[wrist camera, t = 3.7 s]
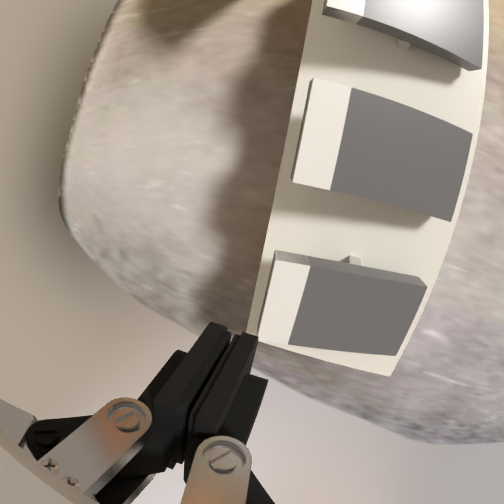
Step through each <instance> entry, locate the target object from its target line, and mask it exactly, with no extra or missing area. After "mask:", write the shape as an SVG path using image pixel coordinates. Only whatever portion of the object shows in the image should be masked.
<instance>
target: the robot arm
mask: <svg viewBox="0 0 504 504" xmlns="http://www.w3.org/2000/svg"><path fill="white" fill-rule="evenodd" d="M258 338H259V337H258V336H255V335H252V334H249V333H245V332H242V334H241V335H237V334H235V336H234V337H233V339H232V341H231V343H230V339H231V332H228V331H227V327H226V326H223V325H220V324H217V323H214V322H210V323H209V324H208V326H207V327H206V329H205V330H204V331H203V333H202V334H201V336H200V337H199V338H198V340H197V341H196V342H195V344H194V345H193V347H192V348H191V349H190V351H189V352H188V353H186V352H183V351H181V350H177V351H175V352H174V354H173V355H172V356H171V357H170V359H169V360H168V361H167V363H166V364H165V365H164V366H163V368H162V369H161V371H160V372H159V373H158V374H157V375H156V377H155V378H154V379H153V380H152V382H151V383H150V384H149V385H148V387H147V388H146V389H145V391H144V392H143V393H142V394H141V396H140V397H139V398H138V400H136V399H133V398H118V399H114V400H112V401H110V402H109V403H107V404H106V405H105V406H104V407H103V408H102V409H100V410H99V411H98V412H97V413H95V414H94V415H90V416H81V417H71V418H60V419H47V420H41V421H39V420H37V419H36V417H35V416H34V415H32V414H29V413H27V412H25V411H23V410H21V409H19V408H17V407H15V406H13V405H11V404H9V403H7V402H5V401H3V400H1V399H0V504H131V503H132V502H133V500H134V499H135V498H136V497H137V496H138V495H139V494H140V492H141V491H143V489H144V488H145V487H146V486H147V485H148V484H149V483H150V481H151V480H152V479H153V478H154V476H155V475H156V473H160V472H164V471H165V470H166V468H167V467H168V468H171V469H173V468H174V466H175V464H176V463H180V464H182V463H183V462H184V481H185V483H186V487H185V491H184V494H183V497H182V501H181V504H275V503H274V502H273V500H272V499H271V498H270V496H269V495H268V494H267V492H266V491H265V489H264V488H263V487H262V485H261V484H260V482H259V481H258V479H257V478H256V477H255V475H254V474H253V472H252V471H251V464H252V458H251V454H250V452H249V449H248V448H247V447H246V443H247V441H248V438H249V435H250V433H251V430H252V427H253V425H254V422H255V419H256V416H257V414H258V411H259V408H260V405H261V402H262V399H263V395H264V393H265V389H266V386H267V383H268V380H267V379H264V378H260V377H257V376H254V375H251V374H250V371H251V367H252V363H253V359H254V355H255V351H256V347H257V343H258ZM184 460H185V461H184Z"/></svg>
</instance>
